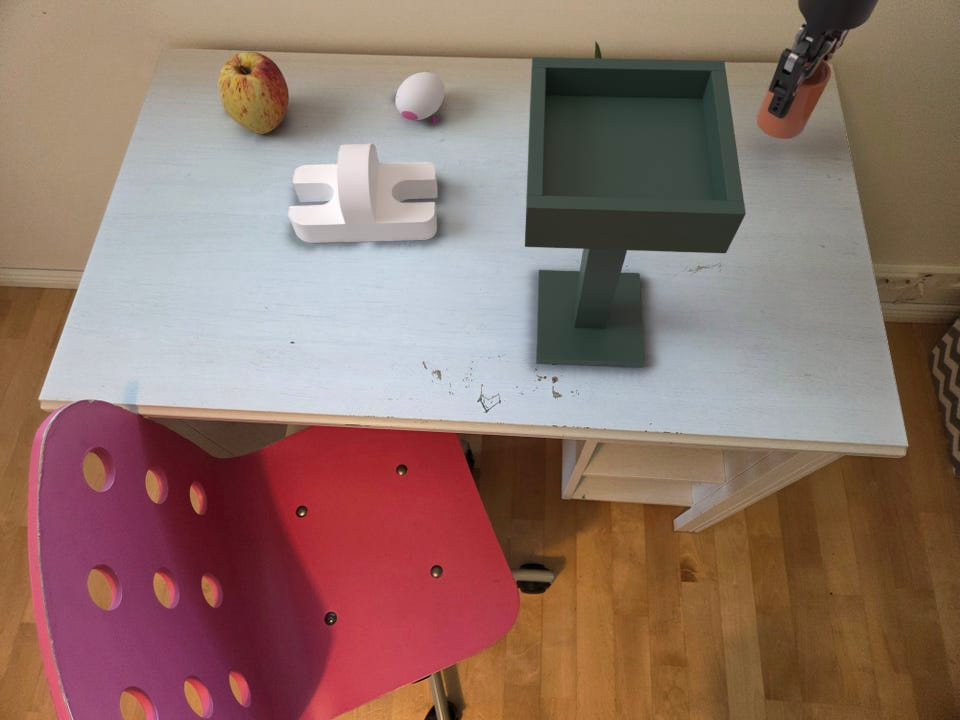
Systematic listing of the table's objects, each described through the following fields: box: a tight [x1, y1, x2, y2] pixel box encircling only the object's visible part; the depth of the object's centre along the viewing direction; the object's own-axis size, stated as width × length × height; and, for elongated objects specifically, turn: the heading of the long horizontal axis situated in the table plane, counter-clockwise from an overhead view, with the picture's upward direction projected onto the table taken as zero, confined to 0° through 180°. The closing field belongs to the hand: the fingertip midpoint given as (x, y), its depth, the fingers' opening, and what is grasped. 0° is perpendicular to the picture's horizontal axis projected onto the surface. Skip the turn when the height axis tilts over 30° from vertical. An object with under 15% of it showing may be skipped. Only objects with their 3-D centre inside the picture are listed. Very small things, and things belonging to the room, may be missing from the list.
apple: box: [217, 51, 290, 135], centre depth 92 cm, size 9×9×10 cm
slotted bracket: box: [287, 142, 439, 244], centre depth 85 cm, size 18×10×10 cm, turn 91°
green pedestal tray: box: [524, 56, 747, 368], centre depth 68 cm, size 16×16×30 cm
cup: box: [755, 59, 832, 140], centre depth 84 cm, size 6×6×8 cm
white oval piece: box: [394, 71, 446, 124], centre depth 95 cm, size 8×8×7 cm
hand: (791, 98), depth 84 cm, fingers closed on cup, 6 cm apart
